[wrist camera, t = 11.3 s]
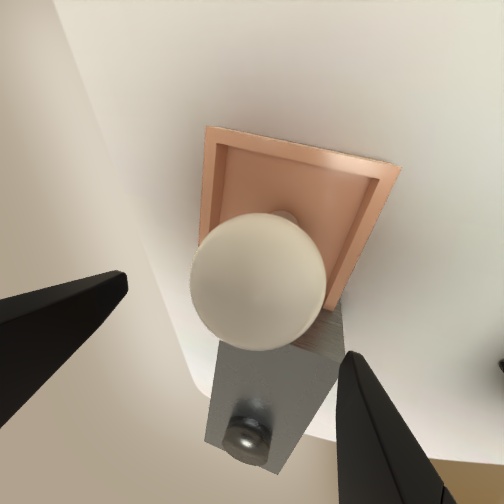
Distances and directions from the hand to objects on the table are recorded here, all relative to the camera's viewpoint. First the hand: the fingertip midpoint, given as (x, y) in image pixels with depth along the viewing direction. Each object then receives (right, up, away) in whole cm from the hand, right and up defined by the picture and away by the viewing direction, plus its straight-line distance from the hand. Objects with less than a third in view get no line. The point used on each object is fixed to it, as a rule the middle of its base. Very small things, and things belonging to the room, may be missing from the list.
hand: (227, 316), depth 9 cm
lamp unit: (+3, -8, +16) cm, 18 cm away
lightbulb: (+3, +5, +9) cm, 11 cm away
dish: (+3, +5, +9) cm, 11 cm away
